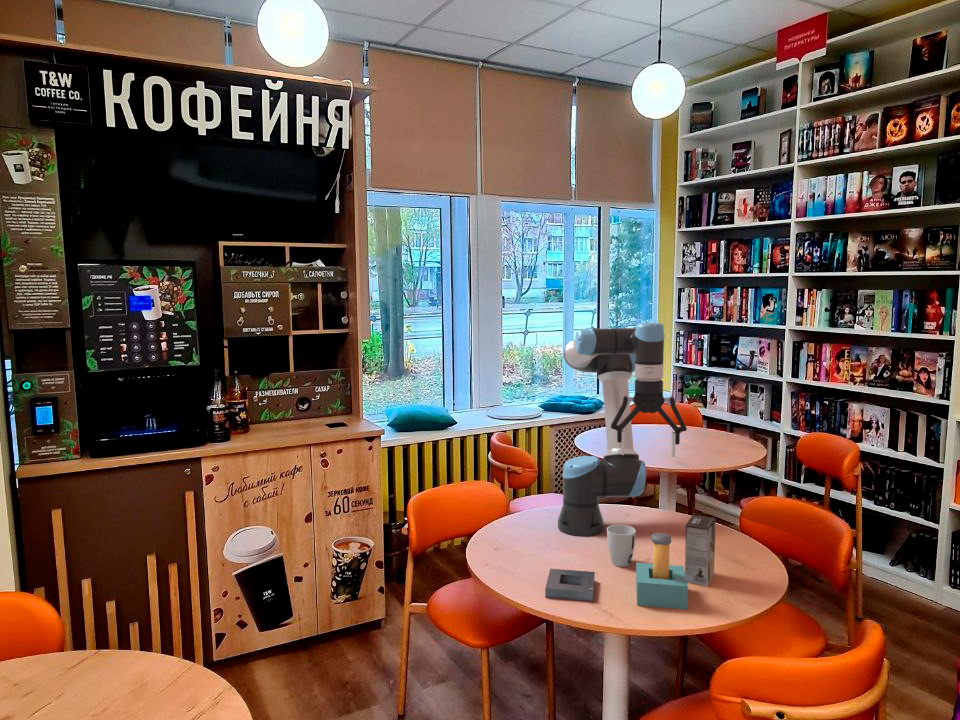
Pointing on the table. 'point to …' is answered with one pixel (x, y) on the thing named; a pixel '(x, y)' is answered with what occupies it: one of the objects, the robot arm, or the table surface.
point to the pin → (661, 555)
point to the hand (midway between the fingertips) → (647, 454)
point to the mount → (573, 592)
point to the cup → (621, 544)
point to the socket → (661, 587)
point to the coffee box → (700, 550)
